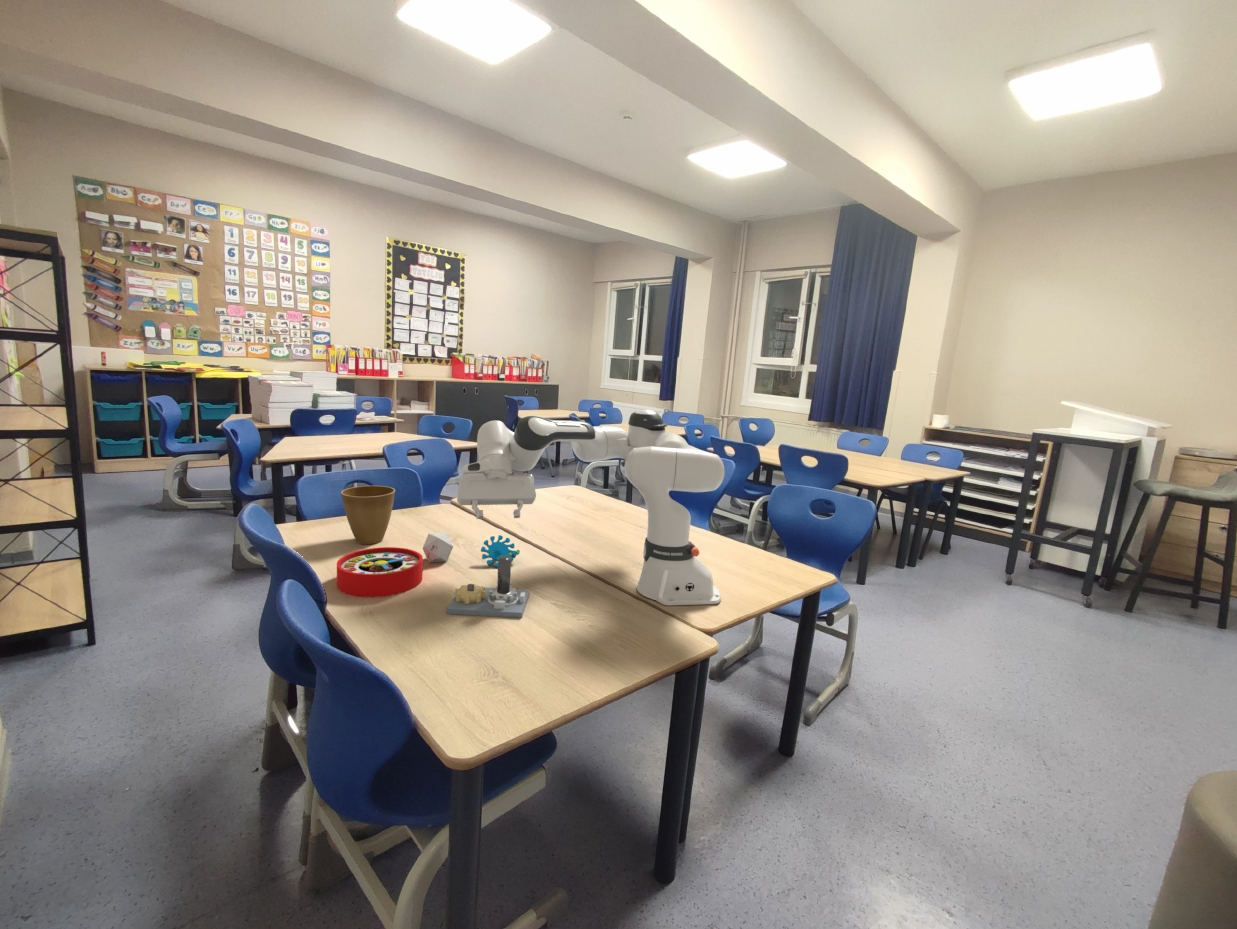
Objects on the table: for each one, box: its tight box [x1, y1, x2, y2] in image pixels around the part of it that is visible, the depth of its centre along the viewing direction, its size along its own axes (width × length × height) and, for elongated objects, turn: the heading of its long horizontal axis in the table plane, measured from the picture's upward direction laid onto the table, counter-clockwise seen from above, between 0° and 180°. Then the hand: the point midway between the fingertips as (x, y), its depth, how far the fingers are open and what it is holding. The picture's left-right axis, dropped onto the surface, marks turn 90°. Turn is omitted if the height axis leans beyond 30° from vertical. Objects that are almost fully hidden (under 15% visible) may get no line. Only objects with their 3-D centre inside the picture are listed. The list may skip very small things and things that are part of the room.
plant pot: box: [340, 485, 396, 545], centre depth 163 cm, size 15×15×16 cm
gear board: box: [446, 583, 531, 619], centre depth 127 cm, size 17×13×4 cm
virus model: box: [480, 534, 521, 569], centre depth 154 cm, size 11×6×10 cm
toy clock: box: [336, 546, 424, 598], centre depth 135 cm, size 20×6×20 cm
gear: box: [489, 556, 518, 603], centre depth 126 cm, size 7×7×10 cm
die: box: [422, 532, 454, 563], centre depth 152 cm, size 8×9×10 cm
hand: (498, 517), depth 135 cm, fingers open, 8 cm apart
